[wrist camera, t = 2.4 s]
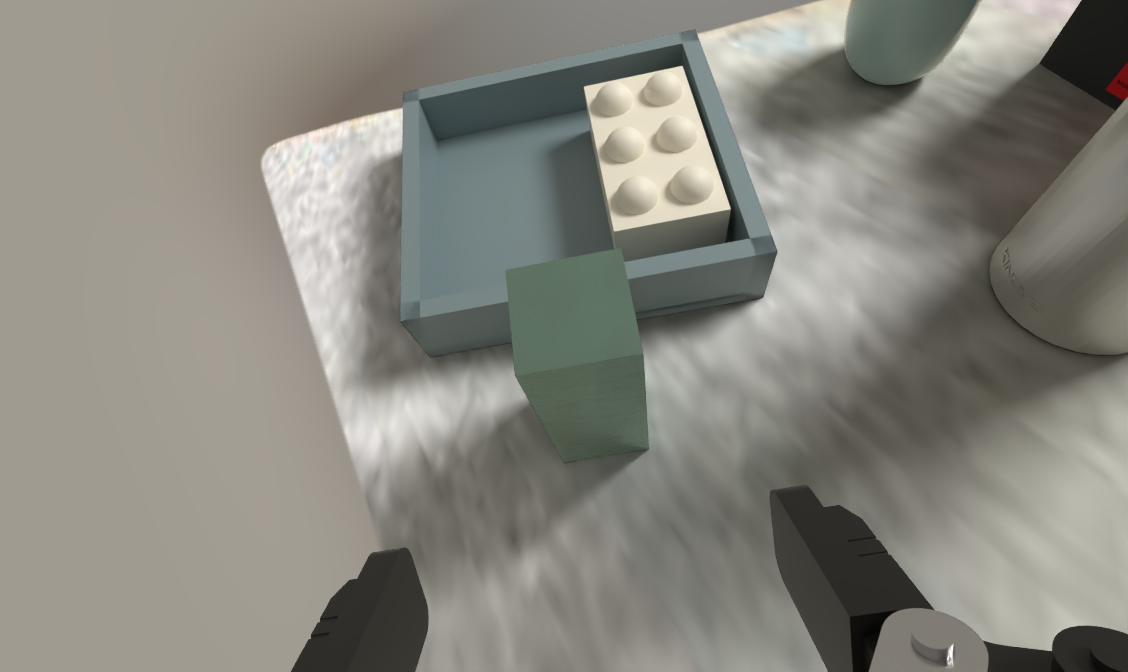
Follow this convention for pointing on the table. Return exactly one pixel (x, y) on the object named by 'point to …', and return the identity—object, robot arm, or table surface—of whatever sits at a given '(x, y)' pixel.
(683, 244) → the egg carton
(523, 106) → the tray
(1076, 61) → the cleaning product box
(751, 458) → the table surface
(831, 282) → the table surface
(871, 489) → the table surface
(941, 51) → the cup
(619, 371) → the tea tin
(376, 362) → the table surface
